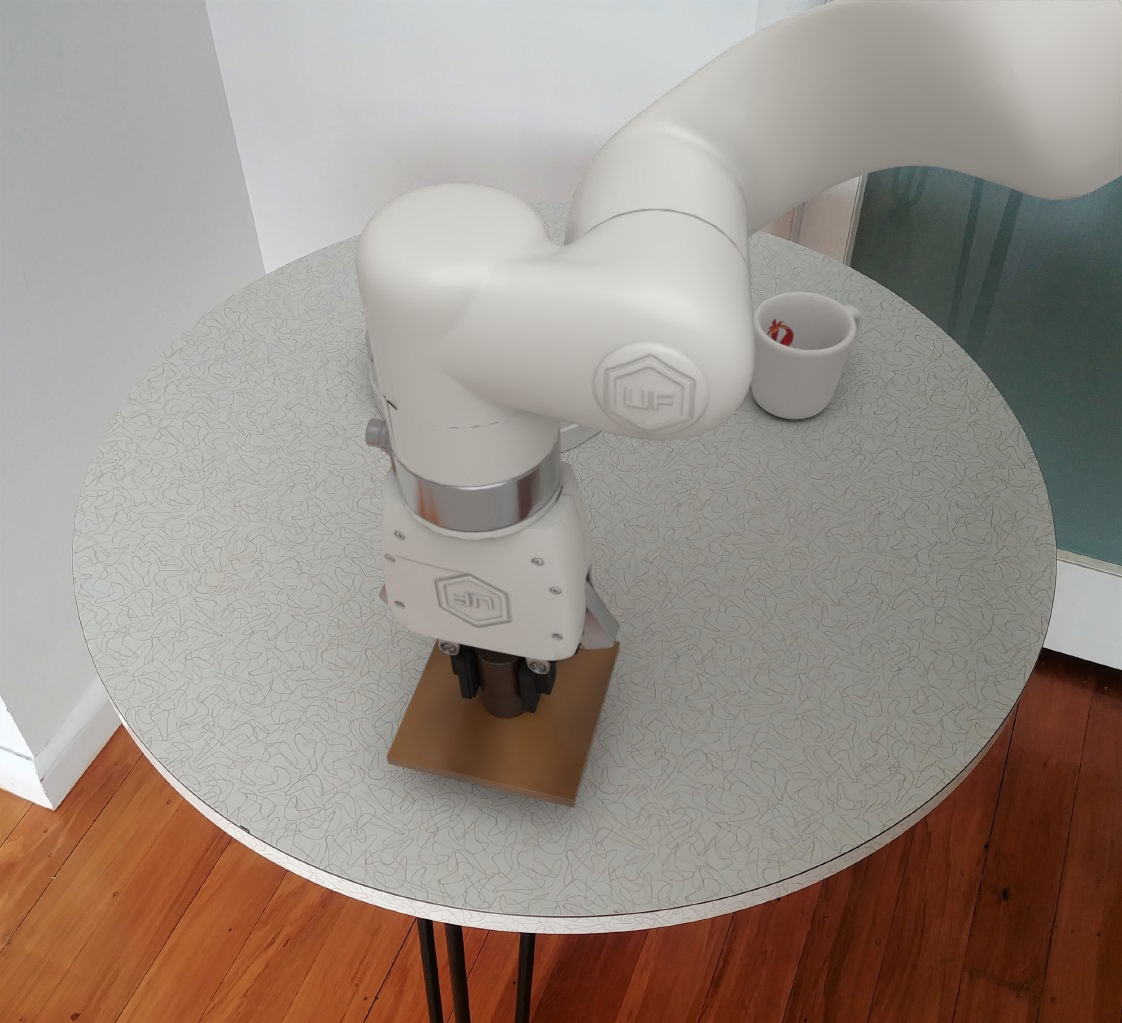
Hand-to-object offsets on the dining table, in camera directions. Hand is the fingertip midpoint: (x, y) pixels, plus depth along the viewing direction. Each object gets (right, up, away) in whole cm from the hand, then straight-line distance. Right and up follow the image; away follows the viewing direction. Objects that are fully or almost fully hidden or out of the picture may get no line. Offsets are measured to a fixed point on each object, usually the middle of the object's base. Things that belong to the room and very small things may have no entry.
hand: (506, 683), depth 61 cm
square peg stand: (0, -1, +2) cm, 2 cm away
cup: (+23, +20, +27) cm, 41 cm away
